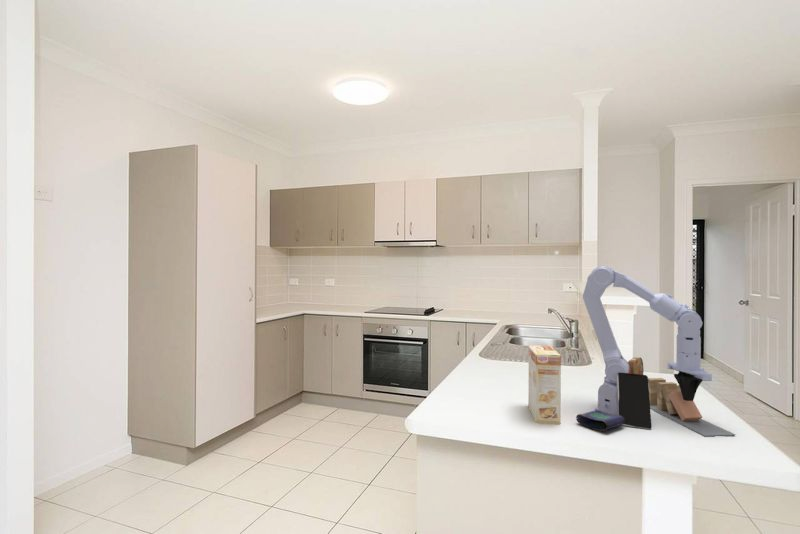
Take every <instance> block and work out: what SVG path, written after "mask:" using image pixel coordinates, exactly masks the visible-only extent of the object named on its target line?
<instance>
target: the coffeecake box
mask: <svg viewBox="0 0 800 534" xmlns="http://www.w3.org/2000/svg"><path fill="white" fill-rule="evenodd" d="M561 364H562V355H561V354H560V353H559V352H558V351H556V350H555V348H553V347H552V346H550V345H531V344H529V345H528V401H527V402H528V405H527V406H528V409H529V411H530V413H532V414H531V416H532V419H533V420H534V422H535V423H538V424H551V425H552V424H553V425H561V421H562V420H561V408H562V407H561V406H562V405H561V404H562V403H561V398H562V397H561V395H562V393H561V392H562V391H561V389H562V388H561V386H562V385H561V384H562V382H561V380H562V376H561V375H562V374H561V373H562V367H561V366H562V365H561Z"/></svg>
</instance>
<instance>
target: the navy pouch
mask: <svg viewBox="0 0 800 534" xmlns="http://www.w3.org/2000/svg"><path fill="white" fill-rule="evenodd" d="M575 420H576V421H577V423H579V424H580V425H582V426H585V427H587V428H588V429H589V428H590V429H592V430H595V431H601V432H602V431H607V430H609V429H612V428H615V427H619V426H621V425H622V424H624V423H625V419H624V417H623V416H620V415H613V414H608V413H605V412H601V411H599V410H591V411H588V412H584V413H579V414H577V415H576V416H575Z"/></svg>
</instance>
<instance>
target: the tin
mask: <svg viewBox="0 0 800 534" xmlns="http://www.w3.org/2000/svg"><path fill="white" fill-rule="evenodd" d="M627 362H628V364H629V373H630V374H640V375H644V362H643V359H642V357H632V358H631V359H630V360H627Z"/></svg>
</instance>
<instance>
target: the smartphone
mask: <svg viewBox="0 0 800 534" xmlns="http://www.w3.org/2000/svg"><path fill="white" fill-rule="evenodd" d="M648 378H649V377H648V376H647V374H643V375H640V374H630V373H620V372H619V373H618V374H617V390H618V413H619V415H620V416H623V417H624V419H625V423H624V424H622V425H620V426H621V427H630V428H636V429H643V430H644V429H646V430H651V429H652V415H651V414H652V413H651V409H650V400H649V383H648Z"/></svg>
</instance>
